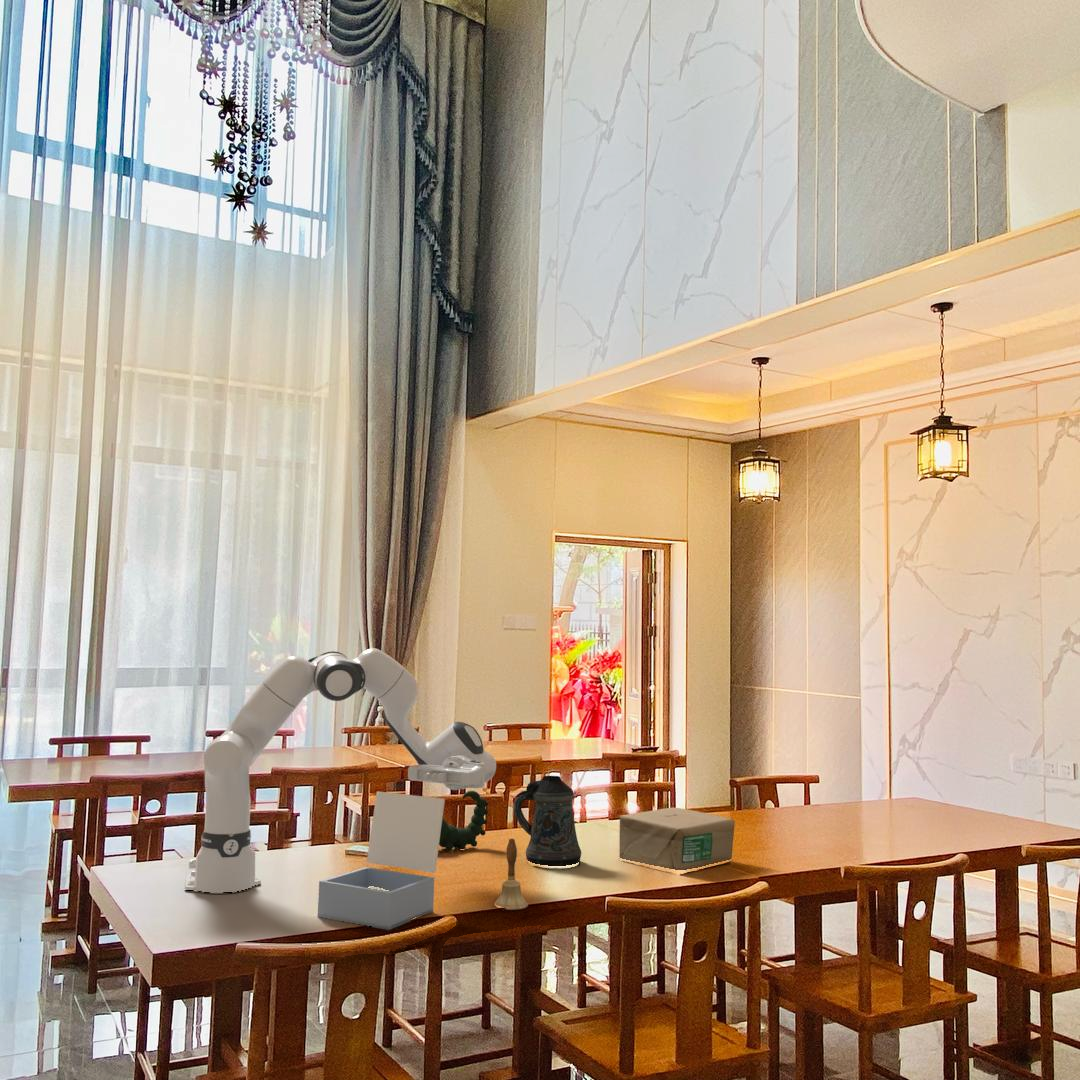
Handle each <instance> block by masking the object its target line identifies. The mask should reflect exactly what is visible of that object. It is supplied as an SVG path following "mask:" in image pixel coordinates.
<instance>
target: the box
mask: <svg viewBox="0 0 1080 1080" xmlns="http://www.w3.org/2000/svg"><path fill="white" fill-rule="evenodd" d="M369 886H374V887H379V888H383V889H385V890H389V891H383V890H377V889H371V888H368V887H369ZM434 894H435V877H433V876H426V875H419V874H414V873H407V872H403V871H402V872H401V871H396V870H395V871H393V870H388V869H382V868H376V867H375V868H374V867H370V866H369V867H368V866H364V867H362V868H359V869H355V870H353V871H352V870H351V871H349V872H346V873H342V874H339V875H336V876H332V877H329V878H325V879H323V880H319V882H318V898H317V899H318V900H317V901H318V902H317V918H321V917H322V918H323V919H326V918H327V919H329V920H332V921H337V920H338V922H342V921H344V922H343V923H348V922H349V923H348V924H353V923H355V924H354V925H358V924H361V925H360V926H364V925H368V926H367V927H369V926H372V927H371V928H376V929H379V930H381V929H382V930H385V931H390V930H393V929H395V928H398V927H400V926H402V925H405V924H407V923H410V922H412V921H411V919H413V918H415V917H419V916H422V915H425V916H427V915H429V913H430V914H432V913H433V912H434V901H435V900H434V898H435V897H434V896H435V895H434ZM431 912H432V913H431ZM426 914H427V915H426ZM422 917H423V916H422Z"/></svg>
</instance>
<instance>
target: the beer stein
mask: <svg viewBox="0 0 1080 1080" xmlns="http://www.w3.org/2000/svg"><path fill="white" fill-rule="evenodd" d="M574 797H575V792H574V790H573V789H572V788H571V787H570V786H568V784H567V783H566V782H564V781H563V780H562V778H561V776H559V775H544V776H542V778H541V779H540V780H534V781H530V782H529V783H528V784H527V786H526V789H525V790H522V791H520V792H519V793H517V794H516V795H515V799H514V801H513V812H514V816H515V819H516V820H517V822H518V824H519V825H520V826H521V828H522V829H523V830H524V831H525V833H527V834H528V835H529V836H530V838H529V841H528V845H527V847H526V850H525V856H526V861H527V860H528V861H530V862H532V863H535V864H540V865H548V866H566V865H572V864H576V863H578V862H580V863H581V857H582V849H581V847H580V844H579V841H578V835H577V831H576V823H575V817H574V816H575V815H574V810H573V809H574V808H573V800H574ZM525 801H534V809H533V810H534V812H533V817H532V824H530V823H529V821H528V819H526V817H525V815H524V813H523V809H522V805H523V803H524V802H525Z"/></svg>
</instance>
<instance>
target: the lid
mask: <svg viewBox="0 0 1080 1080" xmlns="http://www.w3.org/2000/svg"><path fill="white" fill-rule="evenodd" d="M445 801H446V800H445V798H439V797H433V796H431V797H430V796H422V795H414V794H413V795H412V794H403V793H396V792H385V791H376V795H375V802H374V810H373V816H372V823H371V830H370V837H369V842H368V843H369V844H368V851H367V856H366V857H367V858H366V863H368V864H375V865H380V866H387V867H395V868H400V869H407V870H414V871H418V872H419V871H421V872H427V873H431V874H432V873H436V870H437V863H438V854H439V847H440V845H439V840H440V833H441V825H442V817H443V815H444V809H445ZM443 818H444V817H443Z"/></svg>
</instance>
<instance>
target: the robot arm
mask: <svg viewBox="0 0 1080 1080" xmlns="http://www.w3.org/2000/svg"><path fill="white" fill-rule="evenodd" d="M362 689H364V690H366V691H368V693H369V694H371V696H373V697H374V698H376V700H377V701H378V703H380V705H381V707H382V708H383V712H382V716H383V719H384V721H385V723H386V724H387V726H388V727H389V729H390V730H391V731H392V733H393V734H394V735H395V736H396V737H397V739H398V740H399V742H400V743H401V744H402V745H403V746H404V747H405V748H406V750H407V751H408V752H409V754H411V755H412V757H413V758H414V760H415V761H416V763H417V765H410V766H408V770H407V778H408V780H409V781H414V782H416V781H417V782H426V783H437V784H443V785H444V786H445V787H446V788H447V789H450V790H452V791H459V790H465V789H469V788H470V789H472V788H473V789H481V788H482V789H483V788H484V787H485V783H487V782H489V781H491V779H492V778H493V777H494V776H495V773H496V770H497V761H496V759H495V757H494V756H493V755H492V754H491V753H489V752H488V751H486V750H485V748H484V744H483V740H482V738H481V736H480V734H479V732H478V730H477V729H475V727H474V726H472V725H470V724H468V723H466V722H463V721H455V722H453V723H452V724H451V725H450V726H448V727H447V728H445V729H444V730H443V731H442V732H441V733H440V734H438V735H437V736H436V737H435V738H433V739H432V740H431V741H426V740H425V739H424V738H423V737H422V736H421V735H420V733H419V732H418V731H417V730H416V728H415V727H414V726H413V724H411V722H410V720H409V714H410V712H411V711H412V709H413V707H414V704H415V702H416V700H417V696H418V691H419V690H418V689H419V687H418V683H417V680H416V678H415V677H414V675H412V674H411V672H410V671H408V669H406V668H405V667H404V666H403V665H402V664H400V663H399V662H398V661H397V660H396V659H394V658H393V657H391V655H388V654H387V653H385V652H384V651H382V650H380V649H378V648H375V647H374V648H373V647H371V648H368V649H365V650H363V651H362V652H361V653H359V655H358V656H357V657H354V658H350V659H349V658H348V657H347V656H346V655H345V654H343V653H342V652H340V651H339V652H338V651H335V650H334V651H332V650H331V651H326V652H324V653H321V654H319V655H317V656H314V657H311V658H309V659H305V658H303V657H301V656H297V655H291V656H288V657H286V658H285V659H284V660H283V661H282V662H281V663H279V664H278V665H277V666H276V667H275V668H274V669H273V670H272V671H271V672H270V673H269V674H268V675H267V677H265V679H264V680H263V681H262V682H261V684H260V685H259V686H258V687H257V689H255V690H254V692H253V693H252V694H251V696H250V697H249V698H248V699H247V700H246V702H245V703H244V704H243V705H242V707H241V709H240V711H238V713H237V714H236V715H235V718H234V719H233V720H232V722H231V723H229V725H228V727H227V728H226V729H225V731H224V732H223V733H222V734H221V735H219V736H218V737H216V738H214V739H213V740H211V741H210V742H209V744H208V745H207V747H206V749H205V750H204V755H203V765H204V787H205V788H204V790H205V814H204V829H203V831H202V835H201V839H200V840H201V841H200V842H201V843H200V844H201V847H200V849H199V850H198V853H197V855H196V857H195V858H192V859H190V860H188V861H189V862H188V863H189V864H188V869H189V870H191V873H188V874H186V879H185V884H184V890H185V889H186V890H196V891H195V892H198V891H202V892H201V893H204V892H210V893H209V894H224V893H223V892H232V893H238V892H237V891H239V892H242V891H241V890H244V891H246V890H245V889H247V890H249V889H248V888H250V889H252V888H253V887H256V886H259V885H258V884H260V885H262V880H261V879H260V878H258V877H256V851H254V849H252V848H251V847H250V845H251V838H252V835H251V834H252V833H251V829H250V822H251V821H250V820H251V818H250V817H251V803H252V802H251V799H252V798H251V791H250V790H251V789H250V767H251V766H252V765H253V764H254V762H256V759H258V757H259V756H260V755H261V754H262V752H263V751H264V750H265V748H266V747H267V746H268V744H269V743H270V742H271V741H272V739H273V738H274V736H275V735H276V733H278V731H279V730H280V728H282V726H283V725H284V724H285V723H286V721H287V720H288V718H289V717H290V716H291V715H292V714H293V712H294V711H295V710H296V709H297V708H298V706H299V705H300V704H301V702H302V701H303V699H305V697H307V696H308V695H309V694H311V693H313V692H316V691H319V693H320V694H321V696H323V698H325V699H327V700H329V701H333V702H341V701H344V700H346V699H349V698H350V697H352V696H353V695H354V694H356V693H358V692H359V691H360V690H362ZM255 885H256V886H255ZM252 886H253V887H252Z"/></svg>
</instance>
